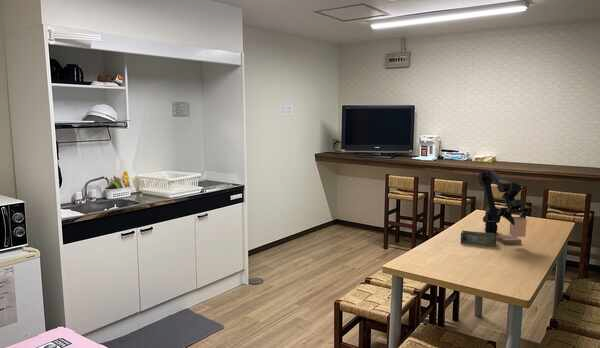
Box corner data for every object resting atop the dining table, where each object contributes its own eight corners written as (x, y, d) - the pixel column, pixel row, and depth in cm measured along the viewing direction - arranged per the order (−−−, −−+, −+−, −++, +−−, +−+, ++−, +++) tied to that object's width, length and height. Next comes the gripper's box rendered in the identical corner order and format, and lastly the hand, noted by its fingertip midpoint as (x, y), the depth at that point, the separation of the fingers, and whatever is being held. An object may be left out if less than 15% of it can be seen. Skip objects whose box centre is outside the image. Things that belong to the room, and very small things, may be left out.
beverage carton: (461, 239, 269) (461, 228, 268) (496, 243, 261) (496, 232, 260) (460, 243, 262) (460, 232, 261) (495, 247, 254) (496, 236, 253)
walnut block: (495, 240, 268) (496, 235, 268) (511, 239, 269) (512, 234, 268) (504, 245, 258) (504, 240, 258) (521, 244, 259) (521, 239, 259)
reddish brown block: (509, 233, 257) (510, 216, 255) (519, 233, 257) (520, 216, 256) (515, 236, 251) (516, 219, 249) (525, 236, 251) (526, 219, 250)
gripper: (500, 193, 254) (509, 217, 245) (532, 193, 255) (542, 217, 246) (493, 204, 263) (501, 227, 254) (523, 203, 264) (532, 226, 255)
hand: (519, 224), depth 252 cm, fingers closed on reddish brown block, 6 cm apart
